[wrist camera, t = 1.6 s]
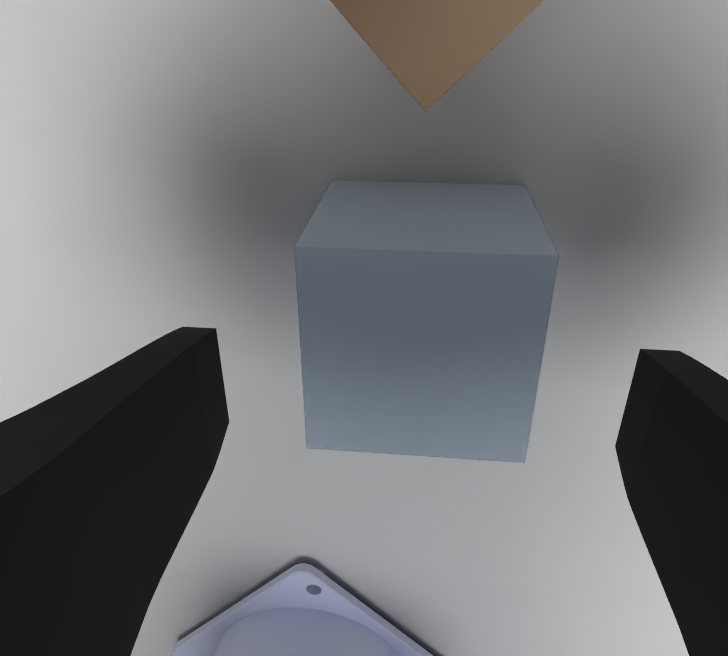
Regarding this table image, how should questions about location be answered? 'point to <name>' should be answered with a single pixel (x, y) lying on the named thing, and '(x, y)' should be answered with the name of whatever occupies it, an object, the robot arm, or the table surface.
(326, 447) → the cube
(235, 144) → the table surface
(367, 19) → the plinth
